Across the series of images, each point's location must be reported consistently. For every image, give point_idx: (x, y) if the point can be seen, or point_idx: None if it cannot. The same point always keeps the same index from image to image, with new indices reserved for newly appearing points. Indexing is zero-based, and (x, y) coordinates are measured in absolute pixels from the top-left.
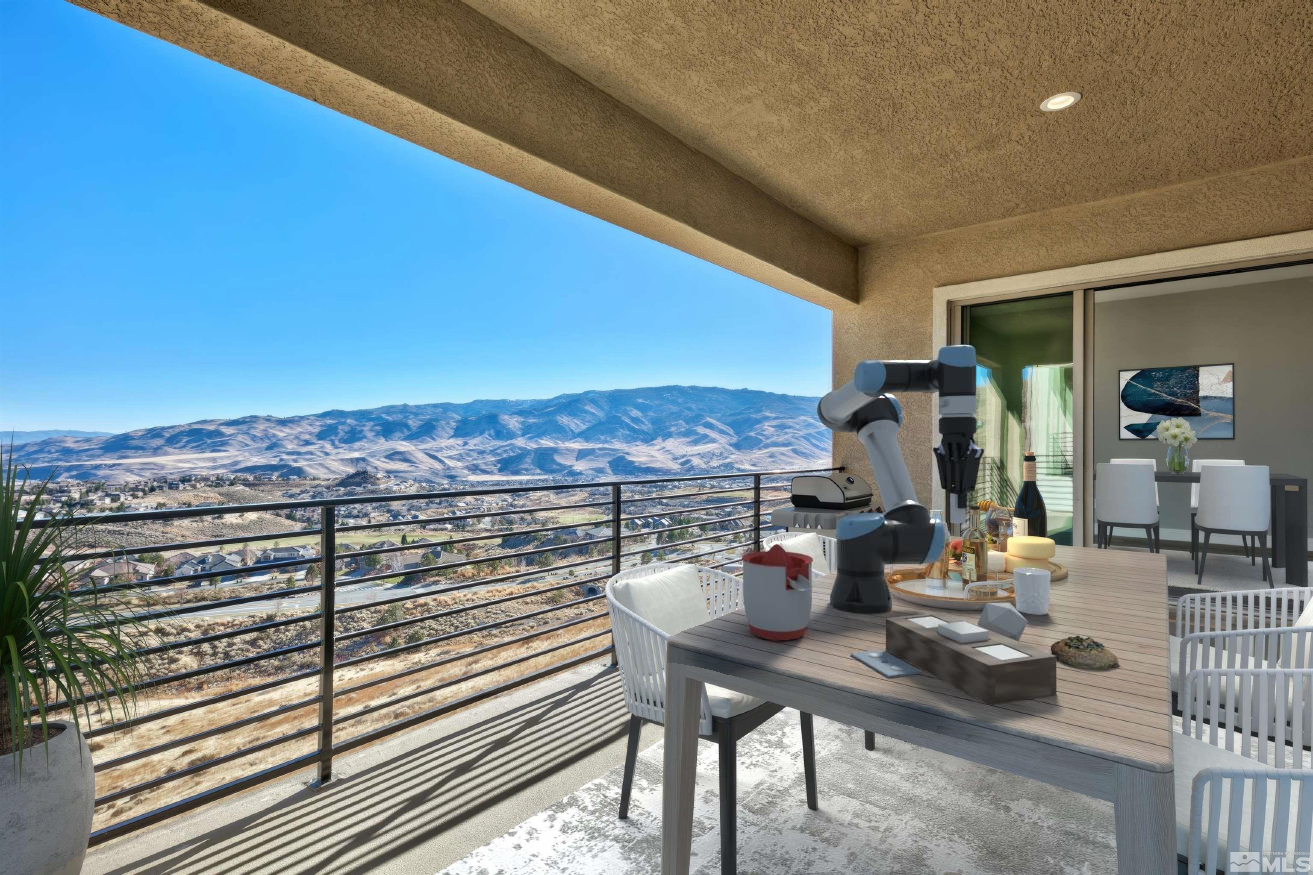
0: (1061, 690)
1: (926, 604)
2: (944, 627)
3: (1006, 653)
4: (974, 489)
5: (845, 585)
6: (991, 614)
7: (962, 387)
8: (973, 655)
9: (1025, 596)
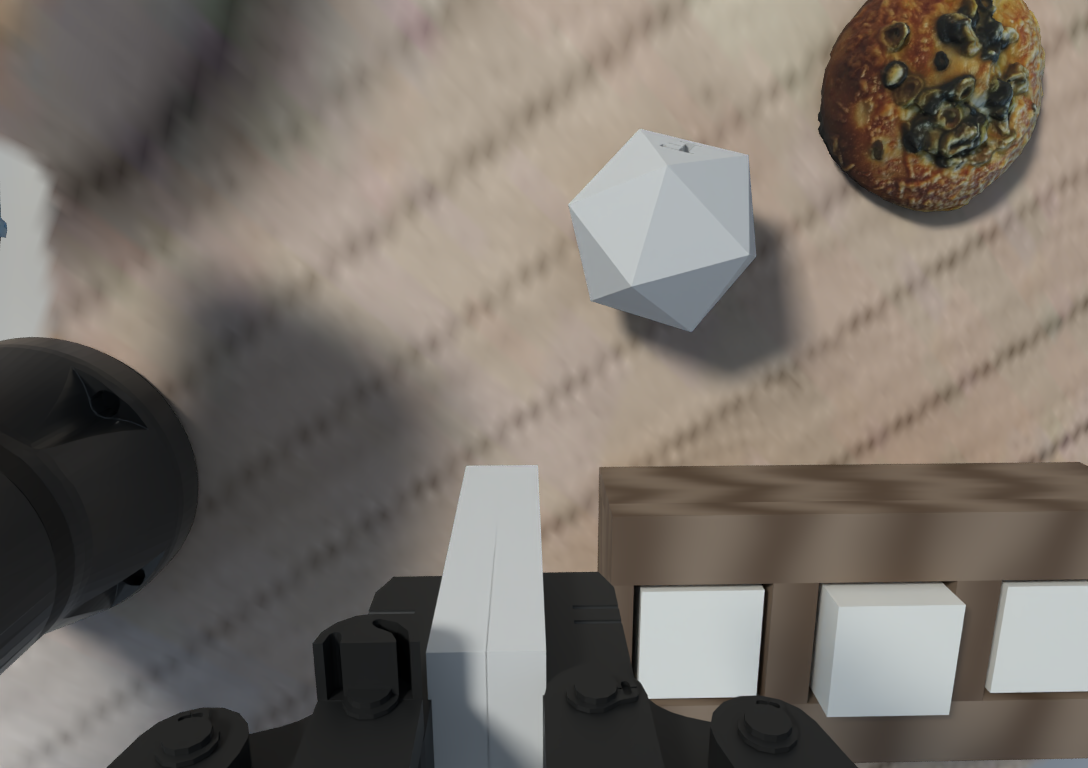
0: (1068, 424)
1: (88, 152)
2: (859, 714)
3: (1074, 635)
4: (817, 732)
5: (48, 632)
6: (683, 309)
7: None
8: (1040, 742)
9: None
